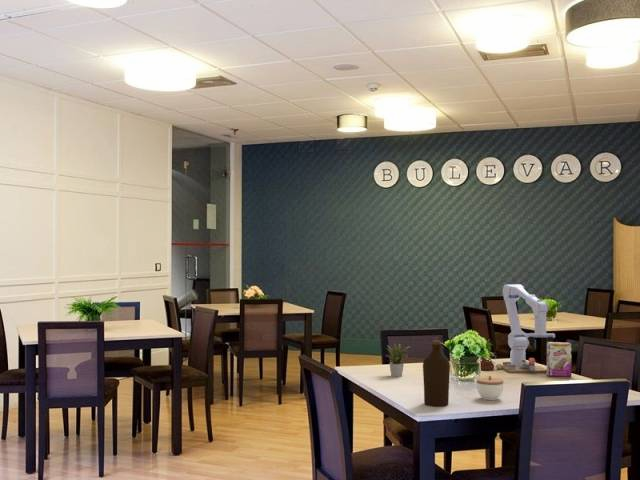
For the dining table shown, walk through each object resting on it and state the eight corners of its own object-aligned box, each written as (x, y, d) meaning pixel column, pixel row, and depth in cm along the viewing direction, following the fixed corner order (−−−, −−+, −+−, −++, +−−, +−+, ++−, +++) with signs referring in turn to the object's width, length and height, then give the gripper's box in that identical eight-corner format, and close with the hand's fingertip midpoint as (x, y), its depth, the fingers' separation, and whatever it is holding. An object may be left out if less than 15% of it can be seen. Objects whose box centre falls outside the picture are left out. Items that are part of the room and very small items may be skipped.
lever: (516, 365, 370) (516, 354, 371) (525, 365, 371) (525, 354, 371) (526, 370, 354) (526, 358, 354) (535, 370, 354) (535, 358, 354)
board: (500, 368, 371) (500, 361, 371) (539, 368, 371) (539, 361, 371) (508, 372, 356) (508, 365, 356) (549, 373, 356) (549, 366, 356)
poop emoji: (475, 368, 372) (476, 350, 372) (492, 368, 372) (492, 350, 372) (480, 371, 362) (480, 352, 362) (496, 371, 362) (496, 353, 362)
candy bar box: (548, 376, 346) (548, 343, 346) (546, 374, 351) (546, 341, 351) (572, 377, 345) (572, 343, 345) (569, 375, 350) (569, 342, 350)
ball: (494, 367, 368) (496, 362, 369) (498, 370, 368) (501, 366, 369) (497, 366, 365) (499, 362, 366) (501, 370, 365) (504, 365, 367)
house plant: (414, 378, 336) (414, 344, 337) (385, 378, 336) (385, 344, 337) (410, 374, 351) (410, 341, 351) (382, 373, 350) (382, 340, 351)
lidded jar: (473, 396, 295) (473, 373, 295) (498, 396, 296) (498, 373, 296) (480, 401, 284) (480, 378, 284) (507, 401, 285) (507, 378, 285)
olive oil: (442, 408, 271) (442, 342, 272) (417, 404, 277) (418, 340, 278) (454, 403, 280) (454, 340, 280) (430, 400, 286) (430, 338, 287)
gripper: (528, 325, 360) (528, 352, 360) (557, 325, 360) (557, 352, 360) (524, 324, 367) (524, 350, 367) (552, 324, 367) (552, 350, 367)
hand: (540, 351), depth 364 cm, fingers open, 7 cm apart
